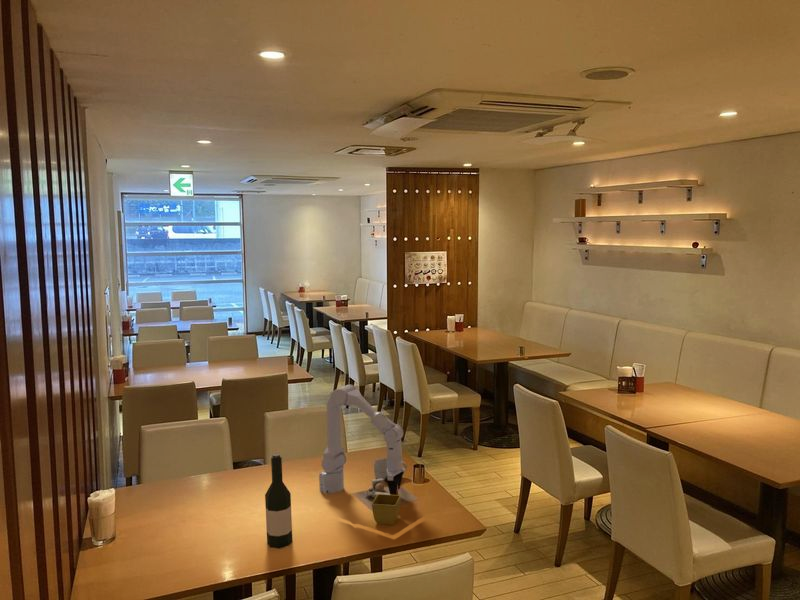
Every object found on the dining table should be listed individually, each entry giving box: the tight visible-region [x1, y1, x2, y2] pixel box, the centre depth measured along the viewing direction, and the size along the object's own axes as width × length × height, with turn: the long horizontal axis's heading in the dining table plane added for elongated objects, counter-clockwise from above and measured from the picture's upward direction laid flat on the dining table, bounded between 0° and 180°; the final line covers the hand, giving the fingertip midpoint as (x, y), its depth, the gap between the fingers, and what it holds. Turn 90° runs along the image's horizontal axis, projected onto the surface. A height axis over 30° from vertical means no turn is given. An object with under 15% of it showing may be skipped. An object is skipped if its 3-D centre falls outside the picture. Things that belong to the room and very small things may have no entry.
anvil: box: [371, 478, 385, 491], centre depth 242 cm, size 4×2×4 cm, turn 108°
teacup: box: [373, 457, 408, 481], centre depth 255 cm, size 14×11×8 cm
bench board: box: [351, 485, 421, 512], centre depth 235 cm, size 20×19×1 cm
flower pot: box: [371, 494, 401, 526], centre depth 213 cm, size 9×9×9 cm
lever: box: [366, 486, 398, 498], centre depth 233 cm, size 13×3×6 cm, turn 68°
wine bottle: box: [264, 453, 293, 549], centre depth 201 cm, size 8×8×30 cm
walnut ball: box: [375, 483, 385, 492], centre depth 239 cm, size 4×4×4 cm
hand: (395, 492), depth 232 cm, fingers open, 5 cm apart
